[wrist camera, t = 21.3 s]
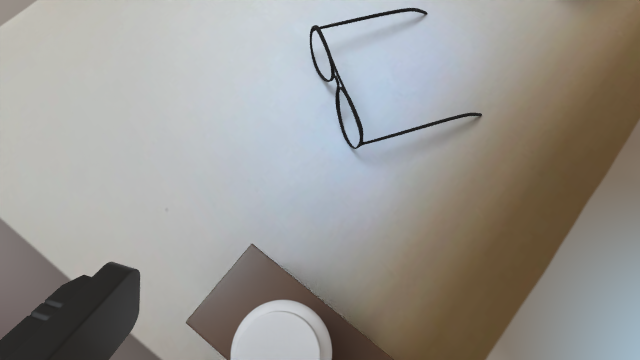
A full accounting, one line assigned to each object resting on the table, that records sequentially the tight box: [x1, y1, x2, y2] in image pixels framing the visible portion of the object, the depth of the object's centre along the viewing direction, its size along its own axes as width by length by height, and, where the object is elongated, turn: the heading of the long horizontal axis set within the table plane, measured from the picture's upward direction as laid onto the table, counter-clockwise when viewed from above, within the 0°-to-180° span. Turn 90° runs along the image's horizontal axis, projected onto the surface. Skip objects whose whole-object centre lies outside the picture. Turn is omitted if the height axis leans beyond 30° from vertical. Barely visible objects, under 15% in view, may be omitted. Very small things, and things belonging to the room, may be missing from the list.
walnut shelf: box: [186, 244, 394, 360], centre depth 32 cm, size 13×7×9 cm, turn 52°
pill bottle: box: [231, 300, 332, 360], centre depth 23 cm, size 6×5×10 cm
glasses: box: [310, 8, 482, 149], centre depth 44 cm, size 14×15×5 cm
